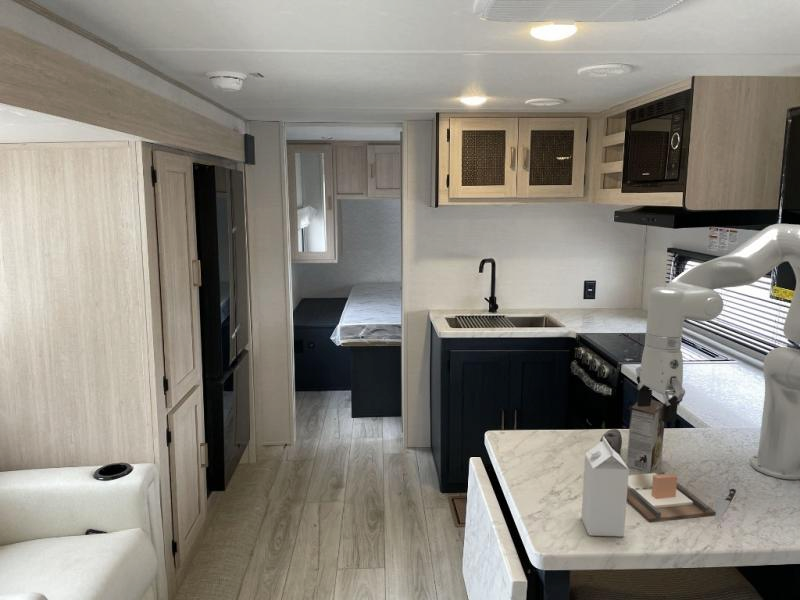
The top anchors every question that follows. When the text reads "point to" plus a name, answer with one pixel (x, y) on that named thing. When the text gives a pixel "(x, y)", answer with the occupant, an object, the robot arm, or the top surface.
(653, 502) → the ticket stub
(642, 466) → the coffee box
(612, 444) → the perforated stone tool
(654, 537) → the top surface
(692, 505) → the ticket board
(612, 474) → the milk carton
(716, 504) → the chef's knife
